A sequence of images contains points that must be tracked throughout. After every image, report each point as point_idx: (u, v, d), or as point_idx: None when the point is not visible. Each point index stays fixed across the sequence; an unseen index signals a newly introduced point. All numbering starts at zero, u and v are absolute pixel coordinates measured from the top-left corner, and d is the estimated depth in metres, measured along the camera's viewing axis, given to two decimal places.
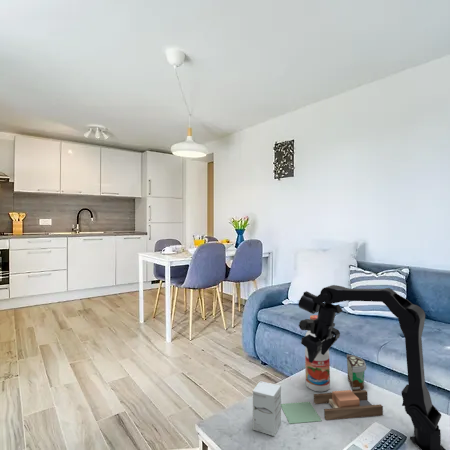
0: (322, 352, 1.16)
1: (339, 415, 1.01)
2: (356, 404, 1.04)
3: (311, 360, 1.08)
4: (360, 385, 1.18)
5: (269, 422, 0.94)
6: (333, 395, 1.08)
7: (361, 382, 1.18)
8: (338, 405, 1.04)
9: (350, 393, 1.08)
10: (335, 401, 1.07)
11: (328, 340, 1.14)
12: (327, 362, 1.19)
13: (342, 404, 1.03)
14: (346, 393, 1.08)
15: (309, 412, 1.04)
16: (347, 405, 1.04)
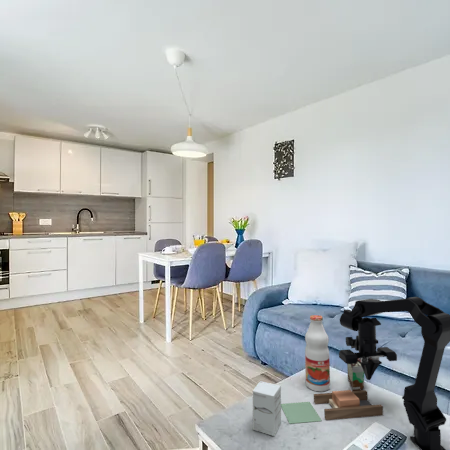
0: None
1: (339, 415, 1.01)
2: (356, 404, 1.04)
3: (367, 376, 1.07)
4: (360, 385, 1.18)
5: (269, 422, 0.94)
6: (333, 395, 1.08)
7: (361, 382, 1.18)
8: (338, 405, 1.04)
9: (350, 393, 1.08)
10: (335, 401, 1.07)
11: (370, 363, 1.07)
12: (327, 362, 1.19)
13: (342, 404, 1.03)
14: (346, 393, 1.08)
15: (309, 412, 1.04)
16: (347, 405, 1.04)
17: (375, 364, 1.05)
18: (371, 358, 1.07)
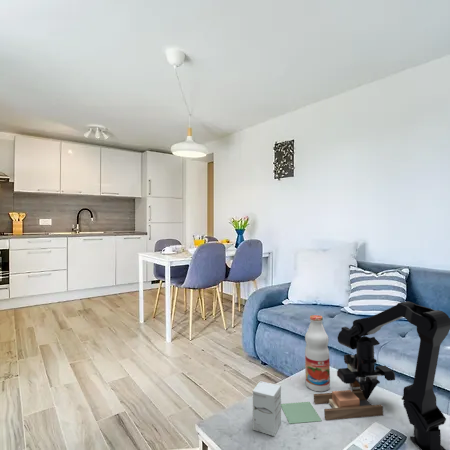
0: None
1: (339, 415, 1.01)
2: (356, 404, 1.04)
3: (365, 395, 1.07)
4: None
5: (269, 422, 0.94)
6: (333, 395, 1.08)
7: None
8: (338, 405, 1.04)
9: (350, 393, 1.08)
10: (335, 401, 1.07)
11: (368, 382, 1.07)
12: (327, 362, 1.19)
13: (342, 404, 1.03)
14: (346, 393, 1.08)
15: (309, 412, 1.04)
16: (347, 405, 1.04)
17: (373, 383, 1.05)
18: (369, 377, 1.07)
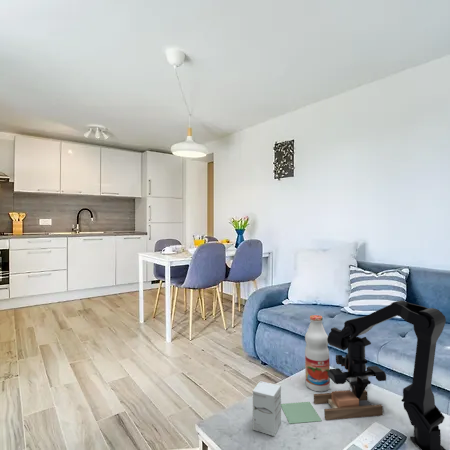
0: None
1: (339, 415, 1.01)
2: (355, 404, 1.04)
3: (356, 396, 1.07)
4: None
5: (269, 422, 0.94)
6: (332, 395, 1.08)
7: None
8: (337, 405, 1.04)
9: (349, 393, 1.08)
10: (334, 401, 1.07)
11: (359, 382, 1.06)
12: (327, 362, 1.19)
13: (341, 404, 1.03)
14: (345, 393, 1.08)
15: (309, 412, 1.04)
16: (346, 405, 1.04)
17: (364, 384, 1.04)
18: (360, 378, 1.06)
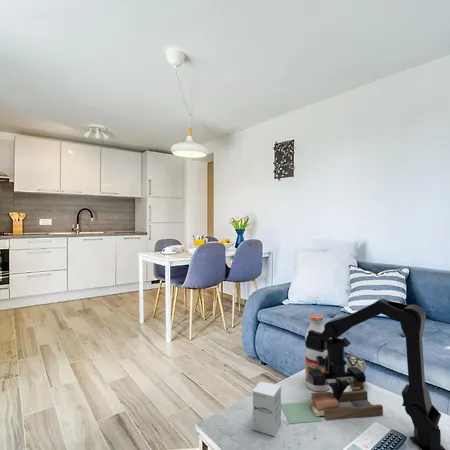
0: None
1: (339, 415, 1.01)
2: (334, 406, 1.03)
3: (335, 397, 1.06)
4: (360, 385, 1.18)
5: (269, 422, 0.94)
6: (312, 397, 1.07)
7: (361, 382, 1.18)
8: (316, 407, 1.04)
9: (329, 395, 1.07)
10: (314, 403, 1.06)
11: (339, 384, 1.06)
12: None
13: (320, 406, 1.03)
14: (325, 395, 1.07)
15: (309, 412, 1.04)
16: (325, 407, 1.03)
17: (343, 385, 1.04)
18: (340, 379, 1.06)
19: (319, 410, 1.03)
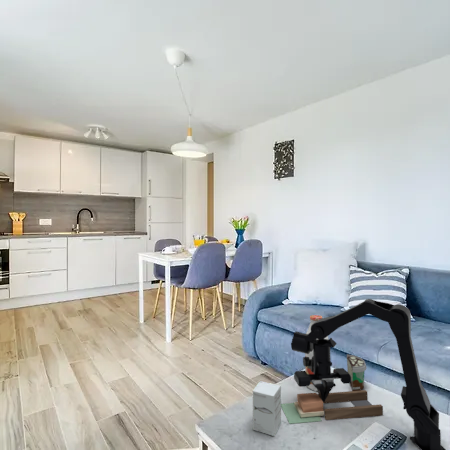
0: None
1: (339, 415, 1.01)
2: (320, 407, 1.03)
3: (321, 399, 1.05)
4: (360, 385, 1.18)
5: (269, 422, 0.94)
6: (298, 398, 1.07)
7: (361, 382, 1.18)
8: (302, 408, 1.03)
9: (315, 396, 1.06)
10: (299, 404, 1.05)
11: (325, 385, 1.05)
12: None
13: (305, 407, 1.02)
14: (311, 396, 1.06)
15: None
16: (310, 408, 1.02)
17: (329, 387, 1.03)
18: (325, 380, 1.05)
19: (304, 411, 1.02)
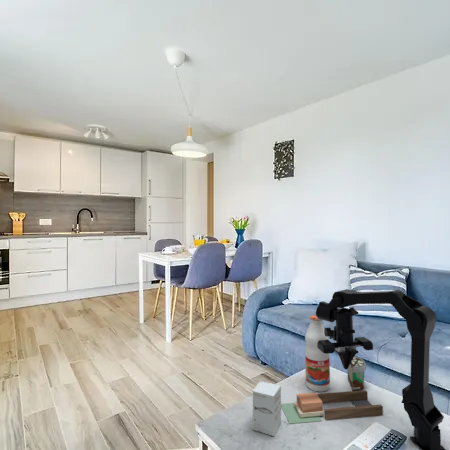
0: None
1: (339, 415, 1.01)
2: (319, 407, 1.03)
3: (344, 366, 1.09)
4: (360, 385, 1.18)
5: (269, 422, 0.94)
6: (297, 398, 1.07)
7: (361, 382, 1.18)
8: (301, 408, 1.03)
9: (314, 396, 1.06)
10: (299, 404, 1.05)
11: (348, 352, 1.08)
12: (327, 362, 1.19)
13: (305, 407, 1.02)
14: (310, 396, 1.06)
15: None
16: (310, 408, 1.02)
17: (352, 353, 1.07)
18: (348, 348, 1.08)
19: (304, 411, 1.02)
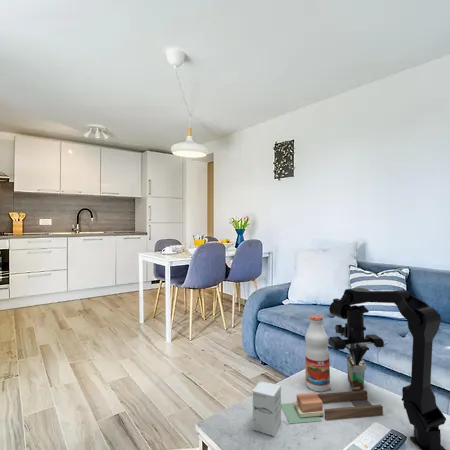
0: None
1: (339, 415, 1.01)
2: (319, 407, 1.03)
3: (355, 362, 1.11)
4: (360, 385, 1.18)
5: (269, 422, 0.94)
6: (297, 398, 1.07)
7: (361, 382, 1.18)
8: (301, 408, 1.03)
9: (314, 396, 1.06)
10: (299, 404, 1.05)
11: (358, 349, 1.11)
12: (327, 362, 1.19)
13: (305, 407, 1.02)
14: (310, 396, 1.06)
15: None
16: (310, 408, 1.02)
17: (363, 350, 1.09)
18: (359, 344, 1.11)
19: (304, 411, 1.02)
